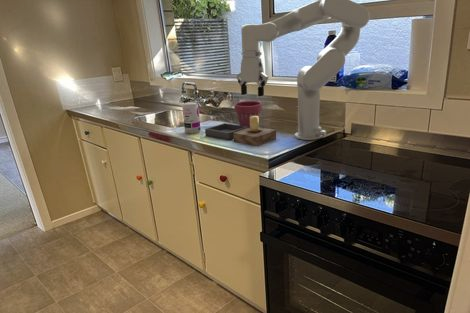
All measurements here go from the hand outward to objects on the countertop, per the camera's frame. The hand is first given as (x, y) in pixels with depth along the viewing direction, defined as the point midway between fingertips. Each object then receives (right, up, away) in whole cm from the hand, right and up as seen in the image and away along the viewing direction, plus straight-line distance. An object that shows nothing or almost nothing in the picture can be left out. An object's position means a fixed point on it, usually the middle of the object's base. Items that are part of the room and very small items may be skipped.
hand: (252, 95), depth 154 cm
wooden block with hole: (+2, -19, +7) cm, 21 cm away
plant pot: (0, -12, +30) cm, 32 cm away
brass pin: (+2, -19, +7) cm, 21 cm away
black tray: (-12, -16, +18) cm, 27 cm away
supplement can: (-30, -14, +28) cm, 43 cm away
